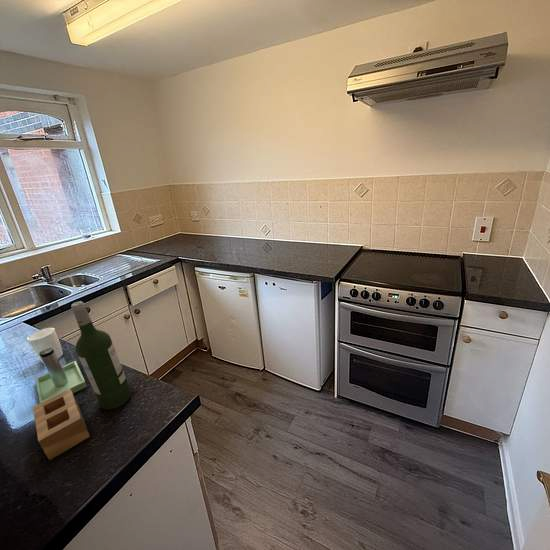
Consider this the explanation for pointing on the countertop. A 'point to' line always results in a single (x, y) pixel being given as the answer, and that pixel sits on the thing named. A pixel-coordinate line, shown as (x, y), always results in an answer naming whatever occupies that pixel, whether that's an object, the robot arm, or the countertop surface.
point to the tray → (74, 383)
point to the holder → (59, 424)
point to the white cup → (45, 341)
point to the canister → (53, 367)
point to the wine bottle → (100, 361)
